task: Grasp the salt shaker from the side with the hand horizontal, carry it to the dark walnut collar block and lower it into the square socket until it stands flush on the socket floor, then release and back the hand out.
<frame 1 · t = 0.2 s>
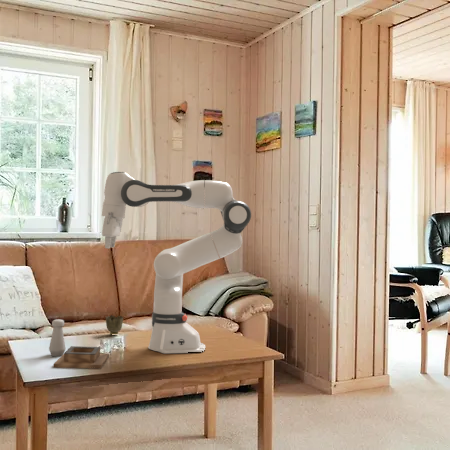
hand: (109, 247, 229), 39 cm above the table, tool pointing down, fingers open, 8 cm apart
cup: (114, 335, 252), on the table
salt shaker: (57, 355, 214), on the table
collar: (82, 362, 205), on the table
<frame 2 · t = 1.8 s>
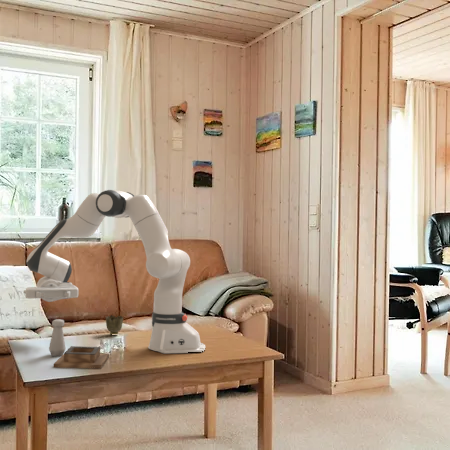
hand: (54, 295, 225), 20 cm above the table, tool horizontal, fingers open, 8 cm apart
nothing on the table moved.
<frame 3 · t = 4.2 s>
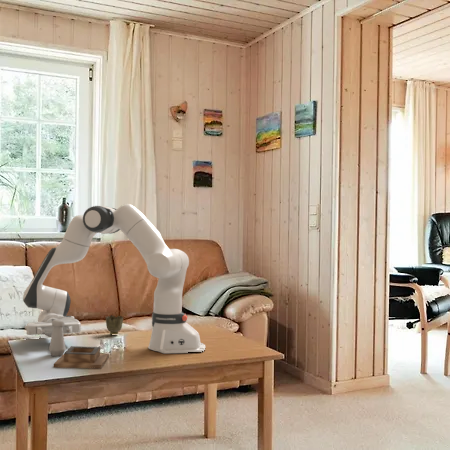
hand: (55, 331, 220), 7 cm above the table, tool horizontal, fingers open, 8 cm apart
nothing on the table moved.
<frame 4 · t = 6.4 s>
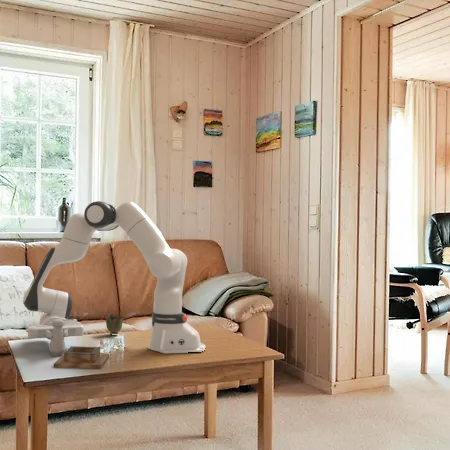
hand: (58, 335, 213), 8 cm above the table, tool horizontal, fingers closed on salt shaker, 3 cm apart
salt shaker: (57, 355, 214), on the table, touching gripper
everything else where it was.
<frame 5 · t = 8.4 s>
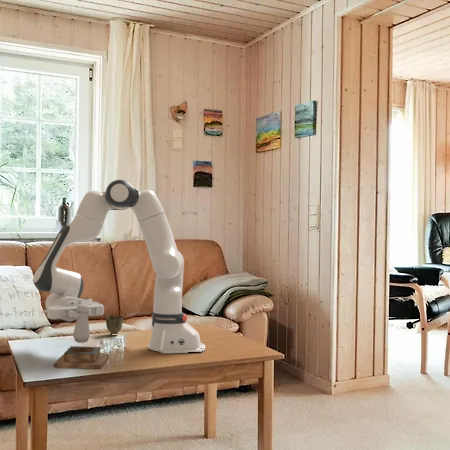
hand: (83, 314, 205), 17 cm above the table, tool horizontal, fingers closed on salt shaker, 3 cm apart
salt shaker: (81, 341, 206), point 7 cm above the table, touching gripper
everything else where it was.
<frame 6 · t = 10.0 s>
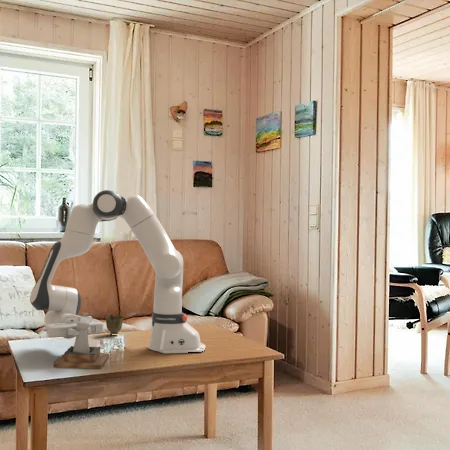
hand: (83, 332, 205), 10 cm above the table, tool horizontal, fingers closed on salt shaker, 3 cm apart
salt shaker: (80, 358, 206), point 1 cm above the table, touching collar, gripper
everything else where it was.
when the fingers open (10 cm above the table, at t = 10.5 s): salt shaker stays where it is, resting on collar.
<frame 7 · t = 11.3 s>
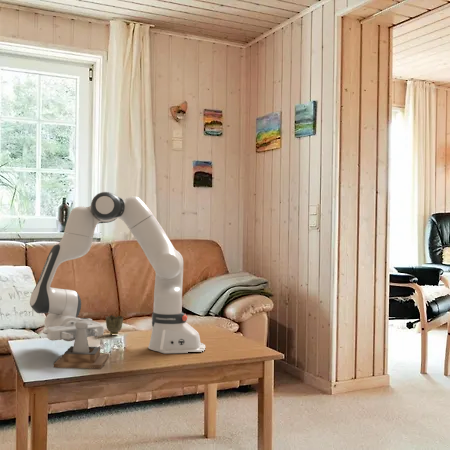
hand: (84, 335, 205), 10 cm above the table, tool horizontal, fingers open, 8 cm apart
salt shaker: (80, 358, 206), point 1 cm above the table, touching collar
everything else where it was.
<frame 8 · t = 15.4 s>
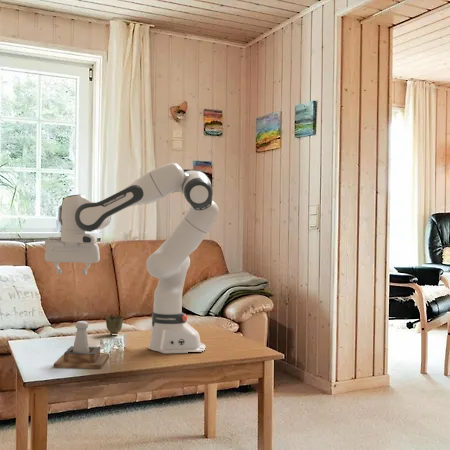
hand: (71, 274, 221), 29 cm above the table, tool pointing down, fingers open, 8 cm apart
nothing on the table moved.
at the end: salt shaker 0.7 cm off-centre on the collar, point 1.0 cm above the collar's base; salt shaker tilted 0°; the gripper is holding nothing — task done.
